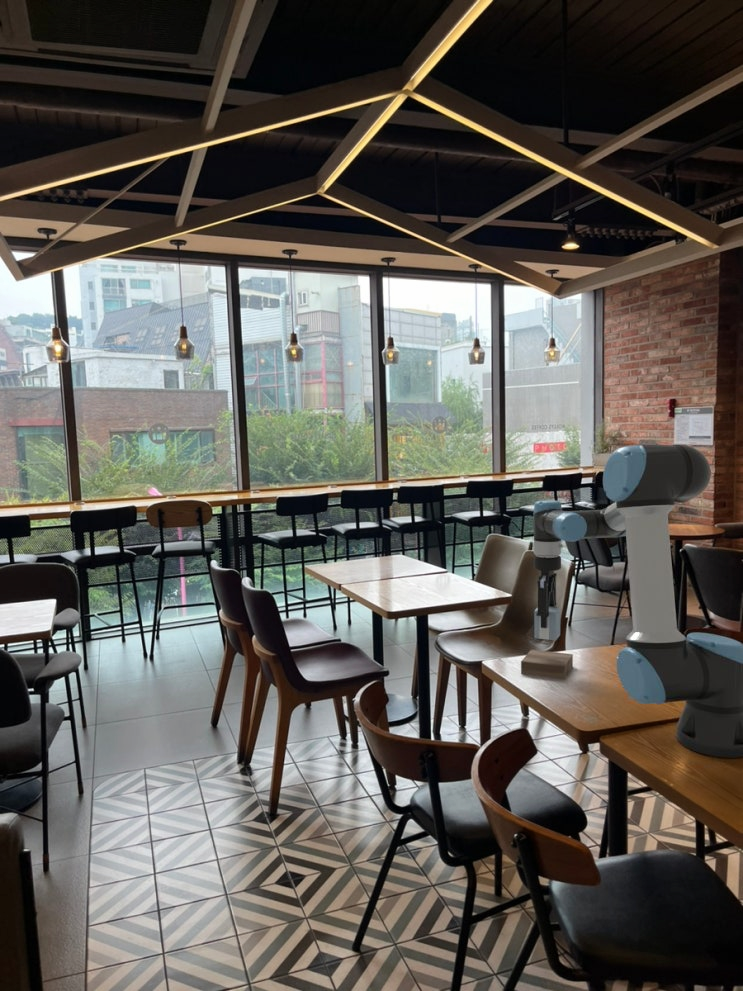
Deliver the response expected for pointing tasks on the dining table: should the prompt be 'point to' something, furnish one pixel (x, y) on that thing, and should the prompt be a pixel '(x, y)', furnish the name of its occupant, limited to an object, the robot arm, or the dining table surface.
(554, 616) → the slate block
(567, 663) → the walnut block
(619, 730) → the dining table surface
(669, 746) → the dining table surface
